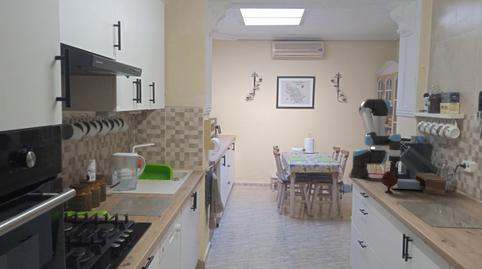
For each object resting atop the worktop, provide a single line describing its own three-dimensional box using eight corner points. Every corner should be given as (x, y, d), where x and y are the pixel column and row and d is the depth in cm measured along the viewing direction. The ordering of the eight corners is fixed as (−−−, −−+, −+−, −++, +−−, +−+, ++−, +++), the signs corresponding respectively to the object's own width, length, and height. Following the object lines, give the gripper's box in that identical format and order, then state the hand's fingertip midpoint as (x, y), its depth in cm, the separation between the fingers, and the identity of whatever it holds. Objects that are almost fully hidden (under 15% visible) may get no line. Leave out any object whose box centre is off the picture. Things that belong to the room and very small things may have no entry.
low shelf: (415, 186, 277) (415, 172, 277) (432, 186, 275) (433, 173, 274) (425, 194, 252) (426, 179, 251) (445, 194, 250) (445, 180, 249)
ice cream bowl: (400, 194, 249) (401, 172, 248) (383, 194, 249) (384, 172, 248) (393, 191, 259) (394, 169, 258) (377, 190, 260) (378, 169, 259)
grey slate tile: (388, 185, 273) (389, 178, 273) (415, 186, 270) (415, 179, 269) (391, 188, 263) (392, 181, 263) (419, 189, 260) (419, 182, 260)
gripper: (404, 157, 254) (402, 190, 256) (396, 154, 277) (395, 183, 278) (392, 157, 256) (391, 189, 257) (385, 153, 278) (384, 183, 279)
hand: (393, 186), depth 268 cm, fingers closed on grey slate tile, 10 cm apart
